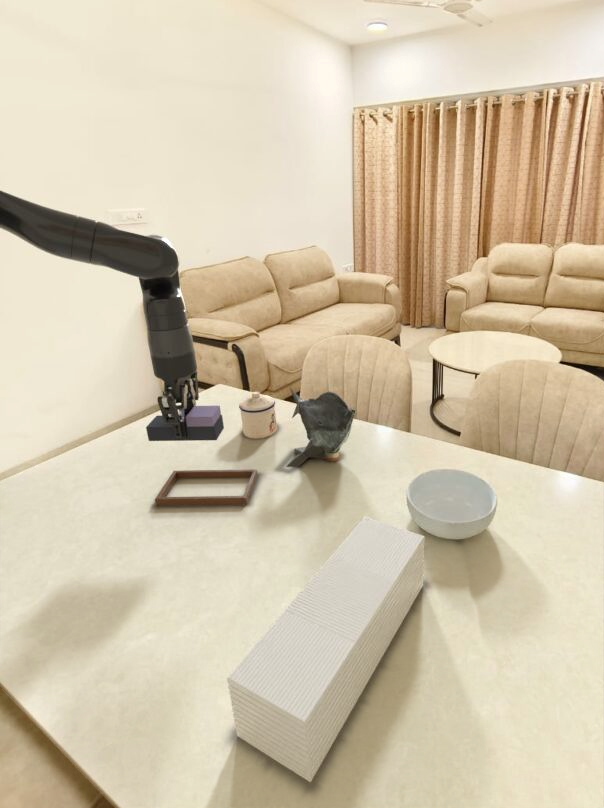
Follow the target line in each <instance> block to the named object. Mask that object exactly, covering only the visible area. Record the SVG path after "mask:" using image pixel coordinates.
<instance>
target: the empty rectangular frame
mask: <svg viewBox="0 0 604 808" xmlns="http://www.w3.org/2000/svg"><path fill="white" fill-rule="evenodd" d="M258 477H259V475H258V469H198V470H197V469H195V470H194V469H193V470H189V469H188V470H173V471H172V473H171V474H170V475H169V477H168V479H167V481H166V482H165V483H164V485H163V486H162V488H161V489H160V491H159V492H158V494H157V495H156V497H155V498H154V502H155V506H156V507H167V506H168V507H179V506H186V507H187V506H188V507H190V506H242V505H243V506H246V505H248V504H249V500H250V498H251V495H252V492H253V490H254V488H255V485H256V483H257V482H256V481H257V479H258ZM240 478H241V479H245V478H246V479H249V480H248V483H247V485H246V488H245V490H244V492H243V495H212V496H211V495H206V496H201V495H200V496H168V494H169V493H170V492H171V489H172V488H173V486H174V485H175V484H176V482H177V480H181V479H182V480H184V479H187V480H188V479H191V480H192V479H240Z"/></svg>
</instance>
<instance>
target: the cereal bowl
mask: <svg viewBox="0 0 604 808" xmlns="http://www.w3.org/2000/svg"><path fill="white" fill-rule="evenodd" d="M405 495H406V503H407V504H406V506H407V509H408V512H409V514H410V517H411V519H412V520H413V522H415V524H416V525H417V526H418V527H420V529H422V530H423V531H425V532H427V533H428V534H430V535H432V536H435V537H438V538H440V539H445V540H463V539H468V538H472V537H475V536H477V535H480V534H481V533H482V532H484V531H485V530H487V528H488V527H489V526H490V525H491V523H492V521H493V520H494V517H495V515H496V512H497V511H496V510H497V506H498V497H497V493H496V491H495V489H494V488H493V486H492V485H491V484H490V483H489V482H488V481H486V480H485V479H483V478H482V477H481V476H479V475H476V474H474V473H471V472H469V471H465V470H460V469H455V468H438V469H432V470H428V471H425V472H422V473H420V474H418V475H417V476H415V477H414V478H413V479H412V480H411V481H410V482H409V483H408V485H407V489H406V494H405Z"/></svg>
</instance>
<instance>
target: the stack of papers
mask: <svg viewBox="0 0 604 808" xmlns="http://www.w3.org/2000/svg"><path fill="white" fill-rule="evenodd" d="M424 566H425V536H424V535H422V534H420V533H416V532H413V531H410V530H407V529H404V528H400V527H398V526H395V525H392V524H389V523H386V522H383V521H380V520H378V519H377V520H376V519H374V518H371V517H368V516H364V517H363V518H362V519H361V520H360V521H359V522H358V523H357V524H356V526H355V527H354V528H353V529H352V531H351V532H350V533H349V534H348V535H347V537H346V538H344V540H343V541H342V542H341V543H340V545H339V546H338V547H337V548H336V549H335V550H334V552H333V553H332V554H331V555H330V556H329V558H328V559H327V560H325V562H324V563H323V565H322V566H321V567H320V568H319V569H318V571H316V573H315V574H314V575H313V576H312V577H311V579H310V580H309V581H308V582H307V583H306V584H305V586H304V587H303V588H302V590H300V592H299V593H298V594H297V595H296V597H295V598H294V599H293V600H292V601H291V602H290V603H289V605H287V607H286V608H285V609H284V610H283V612H282V613H281V614H280V615H279V616H278V617H277V619H276V620H275V621H274V622H273V623H272V625H270V627H269V628H268V629H267V631H266V632H265V633H264V634H263V635H262V636H261V637H260V639H259V640H258V641H257V642H256V643H255V645H254V646H253V647H252V648H250V650H249V651H248V652H247V654H245V657H243V659H242V660H241V661H240V662H239V663H238V665H236V667H235V668H234V669H233V670H232V671H231V673H230V674H229V675H228V676H227V677H226V681H227V686H228V692H229V698H230V703H231V704H230V705H231V707H232V708H231V709H232V713H233V714H232V715H233V718H234V720H233V721H234V727H235V729H236V730H235V732H236V736H237V738H240V739H241V740H243V741H244V742H246V743H247V744H249V745H251V747H254V748H255V749H257V750H259V751H260V752H262V753H263V754H265V755H266V756H268V757H270V758H271V759H273V760H275V762H277V763H278V764H281V765H282V766H283V767H285V768H287V769H289V771H291V772H294V773H295V774H297V775H298V776H300V777H301V778H302V779H304V780H306V781H307V782H309V783H311V782H312V781H313V779H314V777H315V775H316V774H317V773H318V770H319V768H320V767H321V765H322V763H323V761H324V760H325V758H326V756H327V755H328V752H329V751H330V749H331V748H332V745H333V743H334V742H335V740H336V738H337V737H338V735H339V733H340V732H341V731H342V729H343V726H344V725H345V723H346V721H347V720H348V718H349V716H350V714H351V713H352V710H353V709H354V707H355V705H356V704H357V702H358V701H359V698H360V697H361V695H362V693H363V692H364V689H365V688H366V686H367V684H368V683H369V681H370V679H371V677H372V676H373V674H374V672H375V670H376V669H377V667H378V665H379V663H380V662H381V660H382V658H383V656H384V654H385V653H386V651H387V650H388V647H389V646H390V645H391V642H392V641H393V639H394V638H395V635H396V634H397V632H398V630H399V628H400V627H401V625H402V623H403V621H404V619H405V618H406V616H407V615H408V613H409V611H410V609H411V608H412V605H413V603H414V602H415V600H416V599H417V597H418V595H419V593H420V591H421V590H422V588H423V586H424V573H425V572H424V568H425V567H424Z"/></svg>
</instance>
